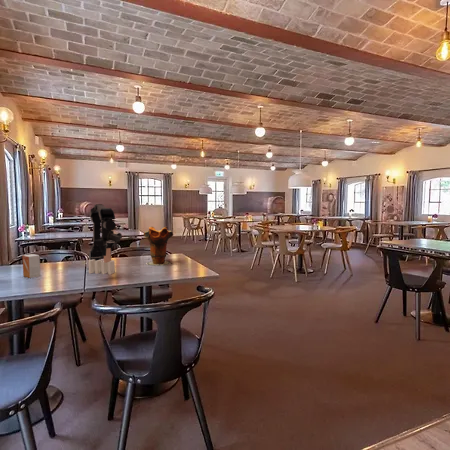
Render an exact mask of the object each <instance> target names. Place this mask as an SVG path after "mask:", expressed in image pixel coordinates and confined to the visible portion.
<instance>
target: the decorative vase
mask: <svg viewBox="0 0 450 450" xmlns="http://www.w3.org/2000/svg"><path fill="white" fill-rule="evenodd" d="M173 235H174V233H173V231H172V230H168V226H164V227H162V228H161V229H159V230H157V229H156V228H155V227H154V226H149V227H148V230H147V231H144V232H143V234H142V236H143V237H145V238H146V239H147V240H148V242H149V253H150V256H149V259H148V260H150V258H151V261H148V262H146V263H145V264H146V265H147V266H153V267H154V266H155V267H158V266H168V265H170V264H171V262H170V261H169V260H166V258H167V253H166V252H167V244H168V241H169V239H170V238H172V237H173Z"/></svg>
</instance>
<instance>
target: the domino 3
mask: <svg viewBox="0 0 450 450" xmlns="http://www.w3.org/2000/svg"><path fill="white" fill-rule="evenodd" d="M111 260H112V252H111V248H107V247H106V256H104V258H103V261H104V263H107V262H110V261H111Z"/></svg>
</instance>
